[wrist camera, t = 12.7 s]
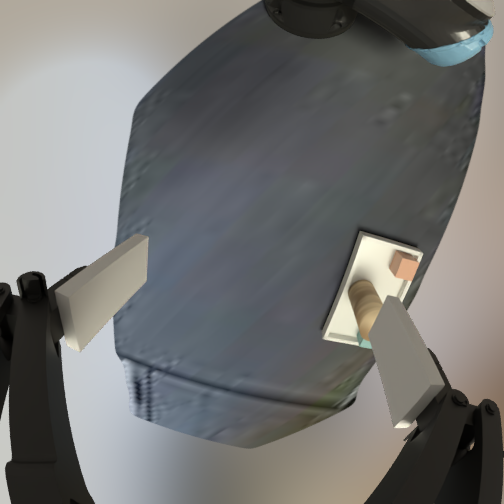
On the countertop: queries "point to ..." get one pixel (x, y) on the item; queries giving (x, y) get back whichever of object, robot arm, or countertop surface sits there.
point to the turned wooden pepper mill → (364, 305)
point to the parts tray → (374, 270)
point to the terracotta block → (403, 265)
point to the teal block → (363, 341)
